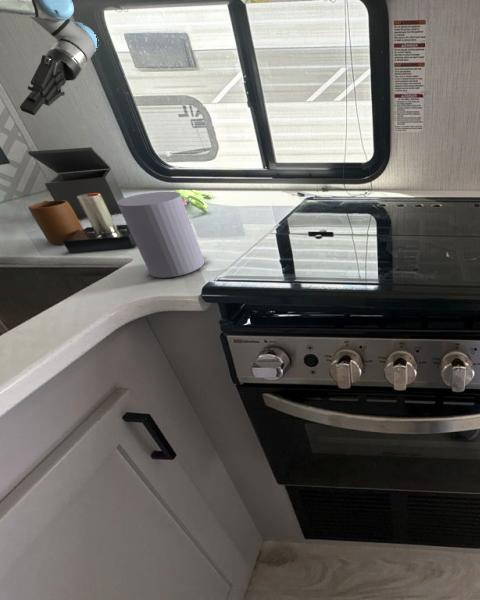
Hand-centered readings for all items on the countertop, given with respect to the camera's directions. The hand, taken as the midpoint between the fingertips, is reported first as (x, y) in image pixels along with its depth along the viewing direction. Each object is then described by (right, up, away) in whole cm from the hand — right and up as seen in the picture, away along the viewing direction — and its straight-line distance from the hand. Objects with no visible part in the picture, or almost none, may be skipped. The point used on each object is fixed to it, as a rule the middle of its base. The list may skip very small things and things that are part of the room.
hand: (27, 111), depth 94 cm
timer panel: (+33, -39, -10) cm, 52 cm away
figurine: (+34, -24, +16) cm, 44 cm away
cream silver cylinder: (+33, -37, -11) cm, 51 cm away
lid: (+6, -11, +8) cm, 15 cm away
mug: (+18, -38, -6) cm, 42 cm away
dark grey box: (+6, -24, +15) cm, 29 cm away
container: (+59, -47, -22) cm, 79 cm away
